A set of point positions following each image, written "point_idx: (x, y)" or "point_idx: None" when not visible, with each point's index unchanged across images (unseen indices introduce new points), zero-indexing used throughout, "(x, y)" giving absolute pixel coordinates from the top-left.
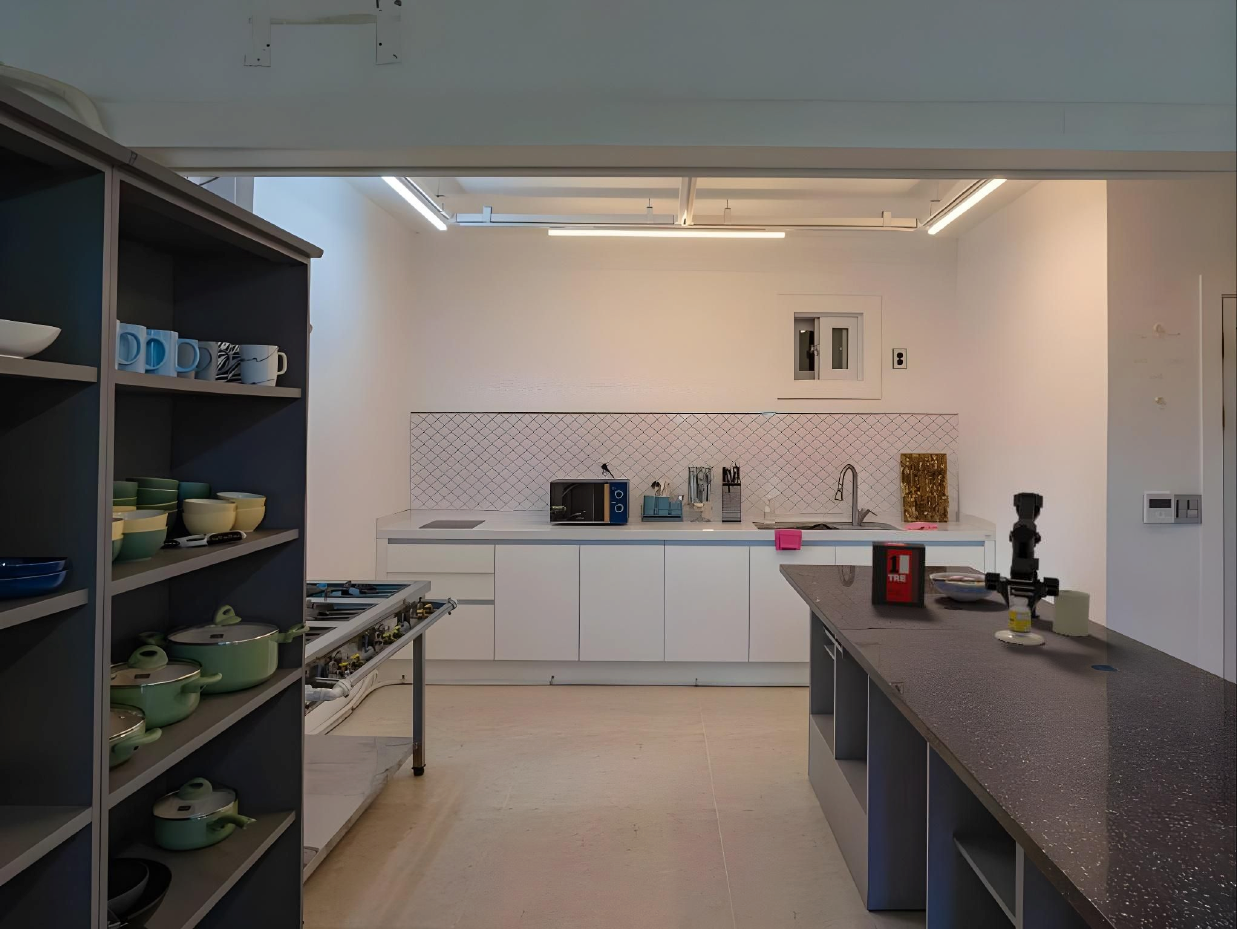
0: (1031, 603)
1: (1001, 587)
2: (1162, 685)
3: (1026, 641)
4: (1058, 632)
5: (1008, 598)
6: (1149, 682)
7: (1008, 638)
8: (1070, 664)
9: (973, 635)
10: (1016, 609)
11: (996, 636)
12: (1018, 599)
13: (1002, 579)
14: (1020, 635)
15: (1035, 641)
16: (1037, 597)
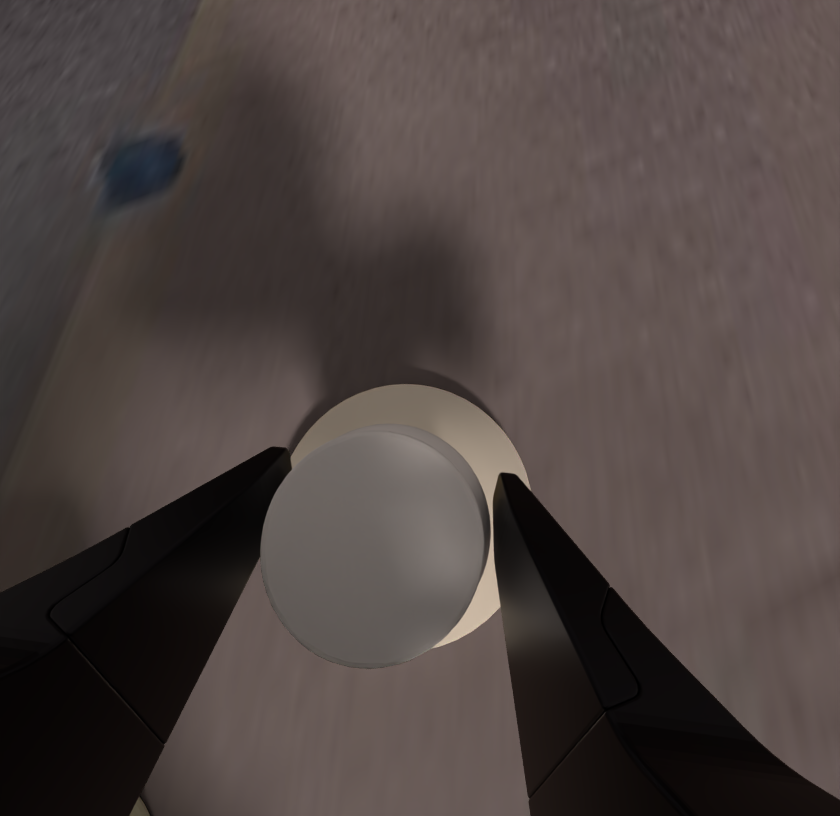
0: (248, 480)
1: (813, 787)
2: (25, 53)
3: (378, 389)
4: (138, 809)
5: (533, 539)
6: (52, 66)
7: (464, 416)
8: (251, 163)
9: (640, 495)
10: (426, 433)
11: (523, 474)
12: (401, 451)
13: None
14: None
15: (332, 410)
16: (93, 560)
